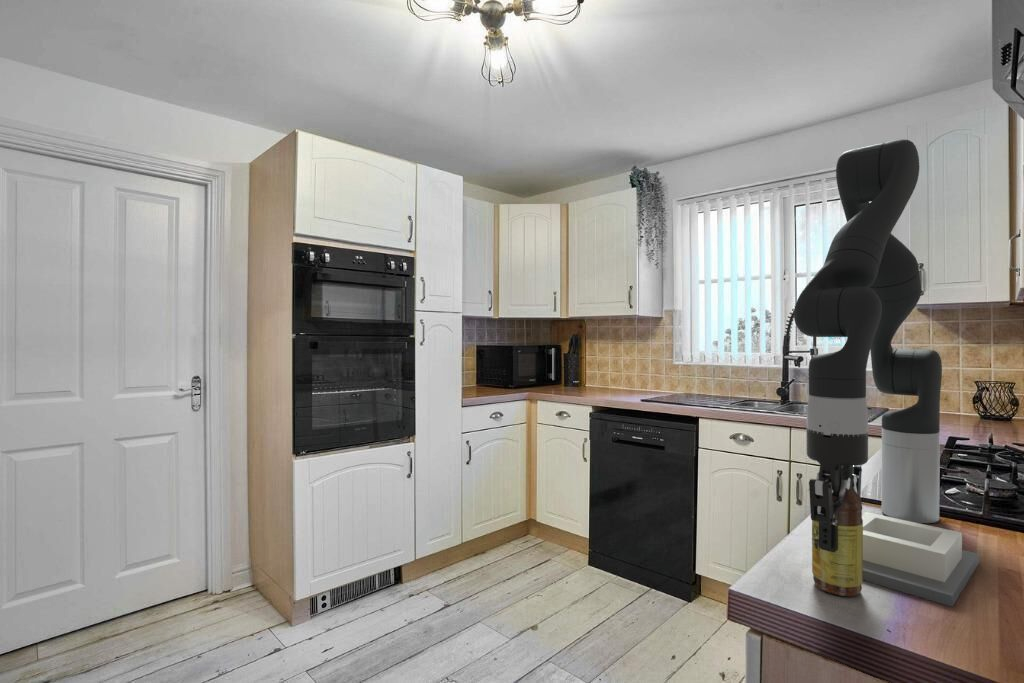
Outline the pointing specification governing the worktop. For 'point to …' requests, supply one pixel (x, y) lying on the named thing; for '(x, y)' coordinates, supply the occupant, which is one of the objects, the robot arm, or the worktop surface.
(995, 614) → the worktop surface
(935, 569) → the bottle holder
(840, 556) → the sauce bottle
